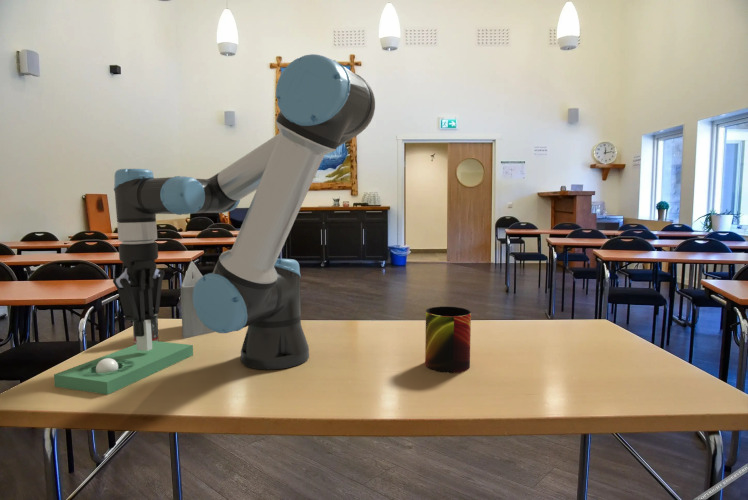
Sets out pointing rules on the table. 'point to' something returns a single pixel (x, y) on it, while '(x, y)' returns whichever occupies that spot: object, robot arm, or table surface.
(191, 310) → the planter
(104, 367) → the ball
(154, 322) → the pill bottle
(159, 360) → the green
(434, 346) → the mug
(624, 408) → the table surface
